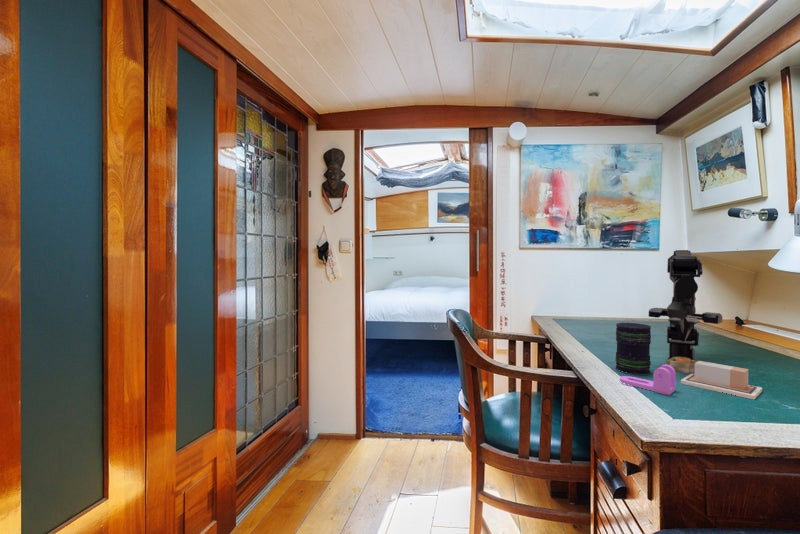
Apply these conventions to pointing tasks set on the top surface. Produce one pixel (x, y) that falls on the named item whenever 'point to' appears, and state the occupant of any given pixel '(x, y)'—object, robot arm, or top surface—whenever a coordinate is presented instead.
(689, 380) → the picture board
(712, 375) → the two-tone rectangular block
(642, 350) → the storage jar
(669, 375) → the bracket
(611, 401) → the top surface
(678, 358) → the button
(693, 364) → the button block
